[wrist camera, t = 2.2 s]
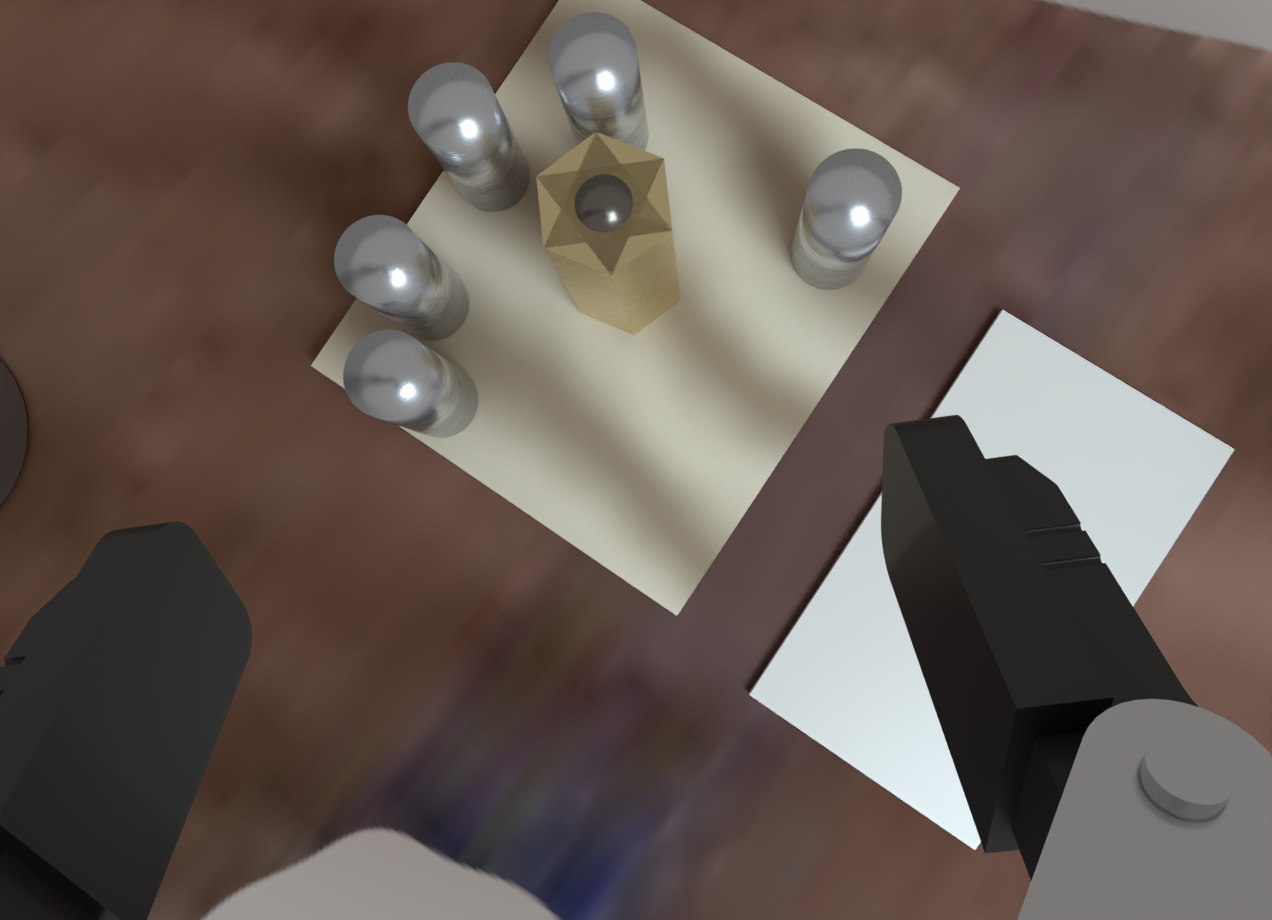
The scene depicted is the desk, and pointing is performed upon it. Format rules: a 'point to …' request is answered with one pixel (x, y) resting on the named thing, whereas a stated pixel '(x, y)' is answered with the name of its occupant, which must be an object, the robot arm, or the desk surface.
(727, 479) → the board
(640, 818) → the desk surface
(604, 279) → the tan faceted block
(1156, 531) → the off-white mat
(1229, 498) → the desk surface
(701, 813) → the desk surface
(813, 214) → the posts
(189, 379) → the desk surface
